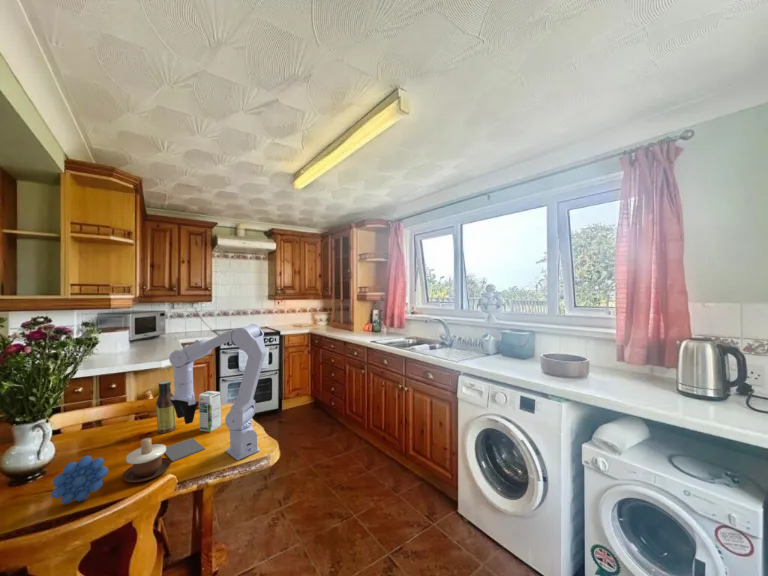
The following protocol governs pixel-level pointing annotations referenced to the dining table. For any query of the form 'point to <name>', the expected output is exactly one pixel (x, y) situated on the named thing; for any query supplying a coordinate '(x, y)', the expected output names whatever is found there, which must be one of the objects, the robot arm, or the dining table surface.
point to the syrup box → (209, 411)
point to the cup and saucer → (146, 470)
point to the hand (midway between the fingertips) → (185, 420)
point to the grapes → (79, 479)
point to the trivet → (183, 449)
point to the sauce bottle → (165, 408)
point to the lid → (146, 452)
